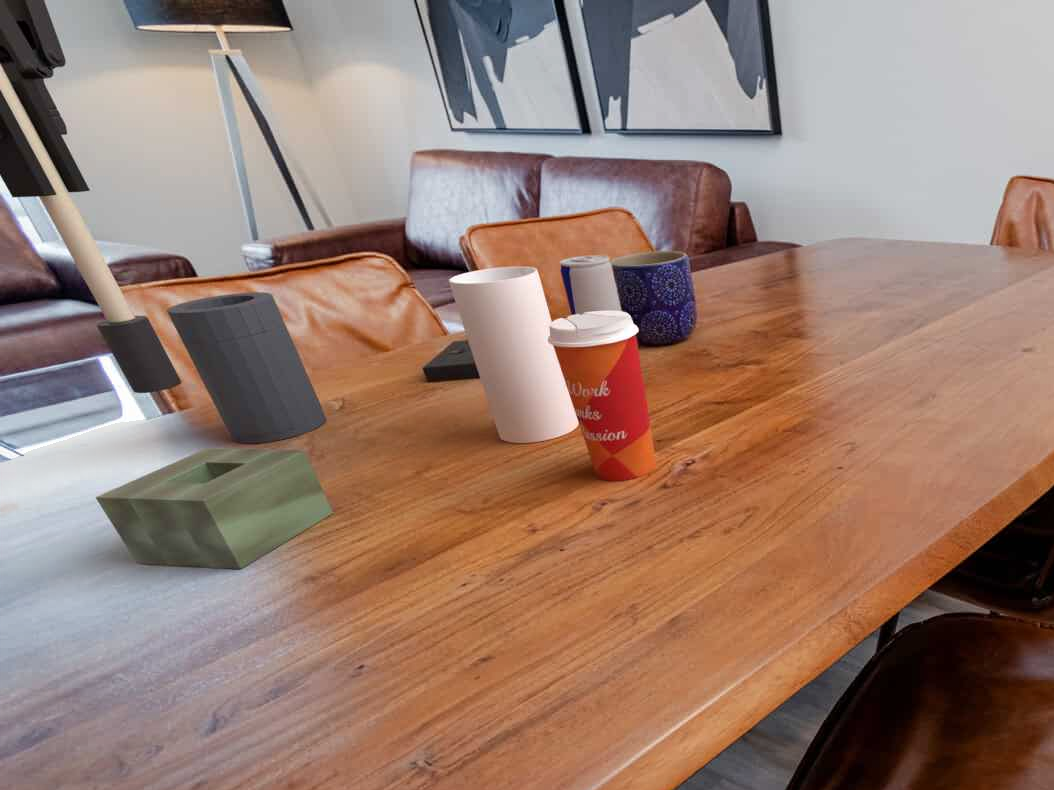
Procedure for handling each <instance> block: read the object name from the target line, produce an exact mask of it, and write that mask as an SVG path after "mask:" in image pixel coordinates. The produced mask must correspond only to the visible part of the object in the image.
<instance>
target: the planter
mask: <svg viewBox="0 0 1054 790" xmlns="http://www.w3.org/2000/svg"><path fill="white" fill-rule="evenodd" d="M609 262H610V263H611V265H612V269H613V274H614V278H615V283H616V287H617V292H618V296H619V301H620V305H621V310H622V312H626V313H628V314H629V315H630V316H631V318H632V321H633V324H635V325H636V326H637V327H638V329H639V331H638V333H636V338H637V343H638V344H641V345H644V346H651V347H653V346H656V347H657V346H667V345H673V344H677V343H680V342H683V341H685V340H687V339H689V337H691V335H692V334H693V333H694V330H695V328H696V326H697V321H698V311H697V304H696V302H697V301H696V294H695V287H694V281H693V276H692V270H691V265H690V264H691V263H690V260H689V256H688V254H687V253H685V252H682V251H674V250H656V251H655V250H654V251H645V252H644V251H643V252H638V253H637V252H636V253H631V254H625V255H621V256H617V257H614V258H612V259H609Z"/></svg>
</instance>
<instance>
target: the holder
mask: <svg viewBox="0 0 1054 790" xmlns="http://www.w3.org/2000/svg"><path fill="white" fill-rule="evenodd" d="M325 493H326V492H324V489H323V487H322V485H321V483H320V481H319V478H318V476H317V474H316V472H315V470H314V468H313V465H312V463H311V461H310V459H309V457H308V455H307V453H306V450H303V449H302V450H301V449H300V450H299V449H263V448H262V449H261V448H260V449H259V448H258V449H256V448H255V449H254V448H204V449H202V450H199V451H197V452H195V453H193V454H191V455H187V456H186V457H184V458H181V459H179V460H177V461H175V462H173V463H171V464H168V465H166V466H163V467H161V468H159V469H156V470H154V471H151V472H150V473H147V474H145V475H143V476H140V477H138V478H136V479H134V480H132V481H128V482H127V483H125V484H122V485H119V486H118V487H116V488H113V489H111V490H109V491H106V492H104V493H102V494H99V495H97V496H96V497H95V499H96V501H97V502H98V504H99V506H100V507H101V509H102V510H103V512H104V513H105V515H106V517H107V518H108V520H109V521H110V523H111V525H112V526H113V527H114V529H115V531H116V532H117V534H118V536H119V537H120V539H121V540H122V542H123V544H124V545H125V547H126V548H127V550H128V552H129V553H130V555H131V556H132V558H133V560H134V561H135V563H136V564H138V565H152V566H154V565H155V566H173V567H175V566H176V567H194V568H195V567H196V568H213V569H231V570H232V569H234V570H242V569H244V568H246V567H247V566H248V565H250V564H252V563H254V562H255V561H257V560H259V559H260V558H262V557H264V556H266V554H268V553H270V552H271V551H274V550H275V549H277V548H279V547H280V546H281V545H283V544H285V543H287V542H288V541H290V540H292V539H294V537H297V536H298V535H300V534H302V533H303V532H305V531H306V530H308V529H310V528H312V527H313V526H315V525H316V524H318V523H320V522H321V521H323V520H325V519H327V518H328V517H329V516H331V515H333V514H334V510H333V509H332V506H331V504H330V502H329V500H328V498H327V495H326V494H325Z"/></svg>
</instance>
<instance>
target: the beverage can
mask: <svg viewBox="0 0 1054 790" xmlns="http://www.w3.org/2000/svg"><path fill="white" fill-rule="evenodd" d="M609 261H610V257H609V256H608V255H600V254H598V255H595V254H593V255H592V254H591V255H581V256H574V257H568V258H565V259H562V260H560V261H559V265H560V273H561V274H560V275H561V278H562V282H563V287H564V290H565V294H566V298H567V301H568V306H569V309H570V314H571V315H575V314H580V315H582V314H583V313H584V312H592V311H622V310H621V305H620V301H619V296H618V292H617V287H616V283H615V278H614V274H613V269H612V265H611V263H610V262H609Z"/></svg>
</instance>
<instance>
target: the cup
mask: <svg viewBox="0 0 1054 790" xmlns="http://www.w3.org/2000/svg"><path fill="white" fill-rule="evenodd" d="M448 283H449V286H450V290H451V292H452V293H451V294H452V296H453V299H454V301H455V304H456V308H457V311H458V315H459V317H460V320H461V324H462V326H463V330H464V333H465V336H466V340H468V342H469V345H470V348H471V351H472V354H473V357H474V360H475V363H476V366H477V369H478V373H479V376H480V378H479V379H480V382H481V385H482V387H483V391H484V393H485V397H486V400H487V403H488V406H489V409H490V412H491V415H492V418H493V422H494V424H495V428H496V431H497V433H498V437H499V438H500V440H502V441H504V442H506V443H512V444H533V443H541V442H544V441H550V440H554V439H556V438H560V437H563V436H565V435H567V434H569V433H571V432H573V431H574V430H575V429H576V428H578V426H579V422H578V419H577V416H576V413H575V410H574V407H573V404H572V401H571V398H570V395H569V392H568V389H567V386H566V383H565V380H564V377H563V374H562V371H561V368H560V365H559V362H558V359H557V356H556V353H555V350H554V347H553V345H551V344H549V343H548V337H549V336H550V329H549V326H550V323H551V322H553V321H552V317H551V315H550V311H549V306H548V303H547V300H546V295H545V292H544V288H543V284H542V281H541V276H540V274H539V271H538V268H536V267H532V266H501V267H493V268H485V269H478V270H473V271H468V272H464V273H461V274H457V275H454V276H452V277H450V278H449V279H448Z"/></svg>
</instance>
